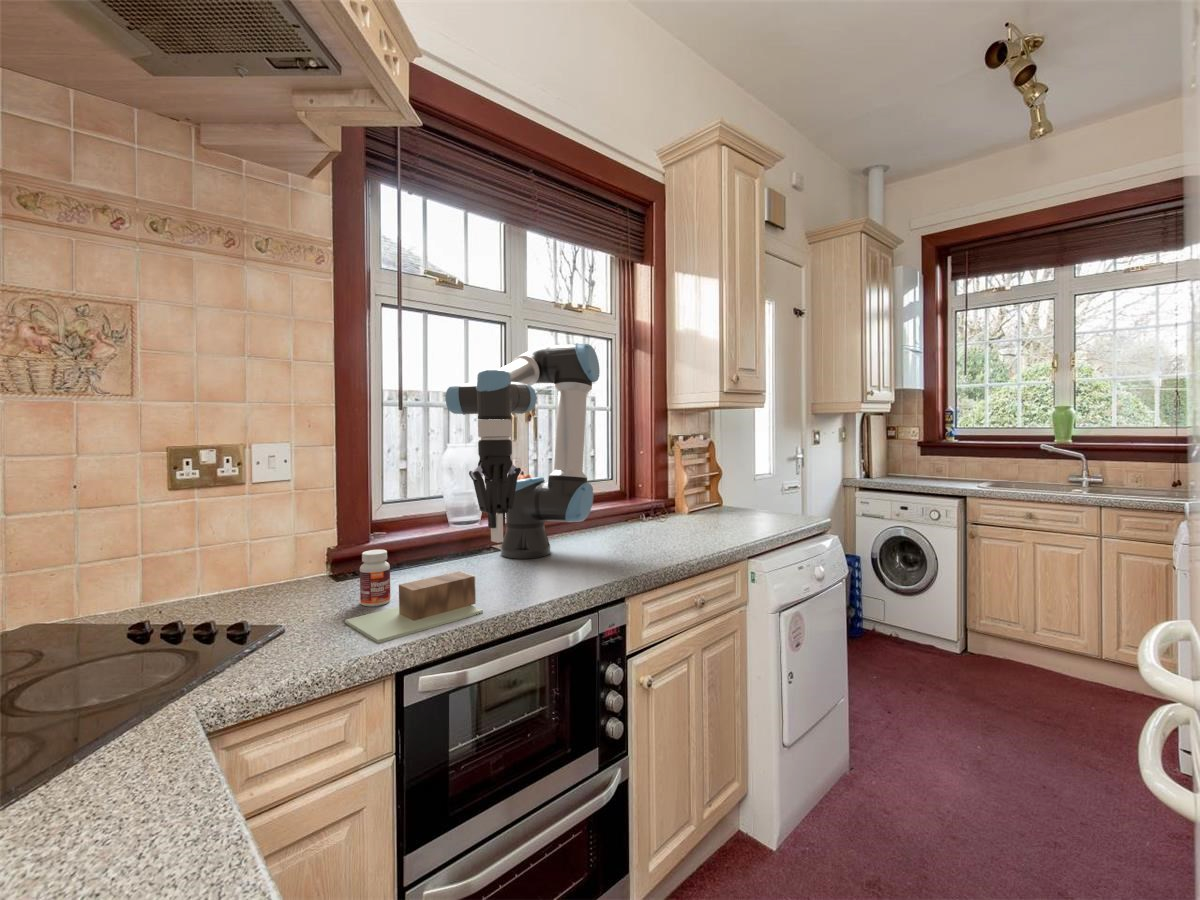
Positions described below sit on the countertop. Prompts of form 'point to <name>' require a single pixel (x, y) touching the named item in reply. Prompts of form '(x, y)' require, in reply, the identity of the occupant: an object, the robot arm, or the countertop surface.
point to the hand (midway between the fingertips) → (497, 541)
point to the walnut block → (436, 595)
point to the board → (403, 622)
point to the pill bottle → (374, 578)
